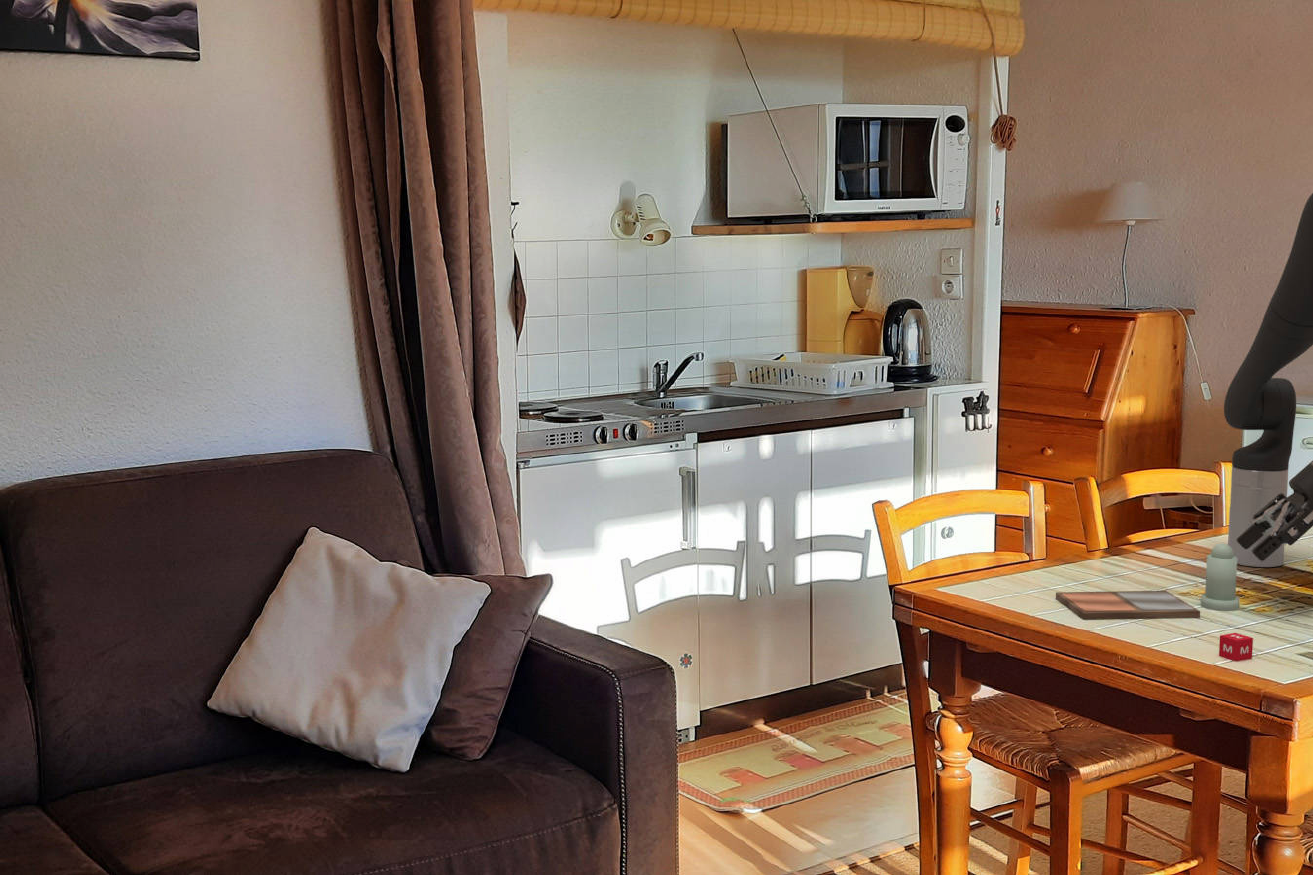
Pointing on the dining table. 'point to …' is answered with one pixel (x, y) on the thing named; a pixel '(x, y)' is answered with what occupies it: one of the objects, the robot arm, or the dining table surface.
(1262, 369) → the robot arm
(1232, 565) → the pawn
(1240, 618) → the dining table surface
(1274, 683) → the dining table surface
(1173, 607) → the brown flat rectangular board
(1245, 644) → the dice
